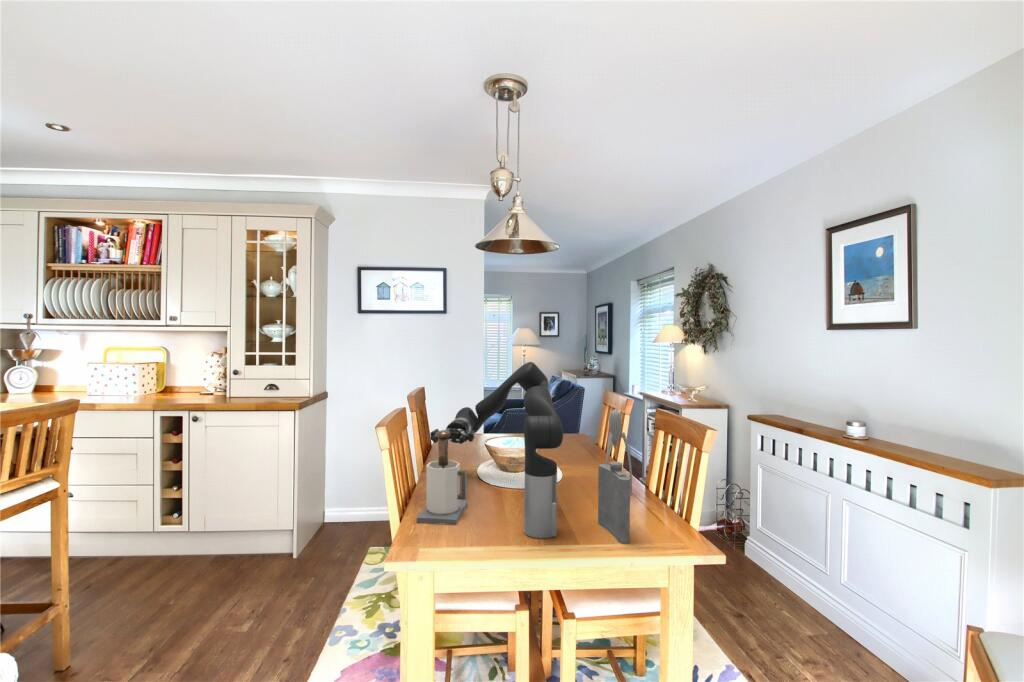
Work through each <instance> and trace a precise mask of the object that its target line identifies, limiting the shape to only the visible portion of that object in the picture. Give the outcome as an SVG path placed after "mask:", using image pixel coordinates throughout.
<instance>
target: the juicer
mask: <svg viewBox="0 0 1024 682" xmlns="http://www.w3.org/2000/svg"><path fill="white" fill-rule="evenodd" d="M608 417H609V418H608V426H609V432H608V437H607V445H606V455H605V457H606V458H605V464H607V465H609V464H610V453H611V446H613V448H614V450H616V447H617V446H618V443H619V439H622V440H623V442H624V445H625V449H626V453H627V459H628V460H627V461H628V469H629V470H628V471H629V478H630V497H633V471H632V468H633V467H632V460H631V452H630V448H629V447H630V446H629V443H628V438H627V436H626V433H625V432H624V431H623V432H622V433H621V430H622V414H621V412H620V411H619V410H618V409H616V408H614V409H612V410H611V412H610V413H609V416H608Z"/></svg>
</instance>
